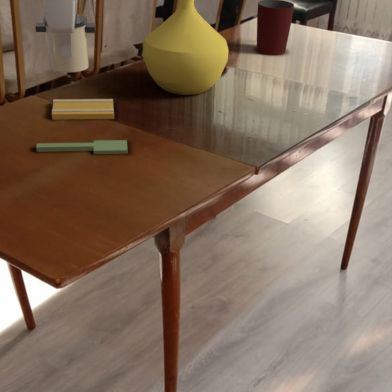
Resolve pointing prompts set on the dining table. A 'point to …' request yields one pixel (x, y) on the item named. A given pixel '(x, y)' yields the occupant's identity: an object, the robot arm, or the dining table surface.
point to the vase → (185, 52)
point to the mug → (273, 26)
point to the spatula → (87, 147)
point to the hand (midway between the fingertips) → (67, 48)
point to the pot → (79, 46)
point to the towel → (83, 109)
